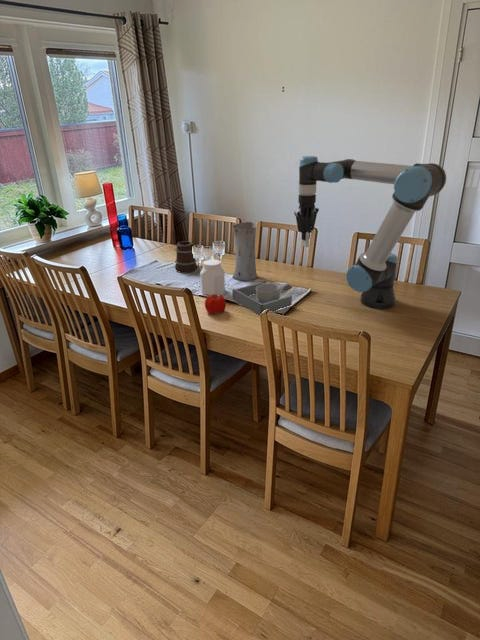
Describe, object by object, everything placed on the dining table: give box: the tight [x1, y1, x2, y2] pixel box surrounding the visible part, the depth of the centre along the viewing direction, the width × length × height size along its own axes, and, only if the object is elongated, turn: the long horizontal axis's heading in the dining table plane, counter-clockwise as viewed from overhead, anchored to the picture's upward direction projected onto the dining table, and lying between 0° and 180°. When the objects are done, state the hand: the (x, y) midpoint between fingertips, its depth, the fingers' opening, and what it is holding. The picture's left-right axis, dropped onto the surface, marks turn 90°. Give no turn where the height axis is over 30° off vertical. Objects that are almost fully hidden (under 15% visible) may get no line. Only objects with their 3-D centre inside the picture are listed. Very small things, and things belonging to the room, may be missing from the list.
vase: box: [232, 221, 258, 282], centre depth 225 cm, size 13×14×28 cm
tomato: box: [204, 294, 227, 315], centre depth 192 cm, size 9×9×8 cm
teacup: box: [255, 281, 281, 304], centre depth 201 cm, size 14×11×8 cm
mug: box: [174, 240, 198, 273], centre depth 243 cm, size 16×12×15 cm
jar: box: [199, 259, 226, 296], centre depth 211 cm, size 12×10×15 cm
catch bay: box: [231, 281, 293, 316], centre depth 200 cm, size 22×17×5 cm
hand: (305, 246), depth 202 cm, fingers closed
